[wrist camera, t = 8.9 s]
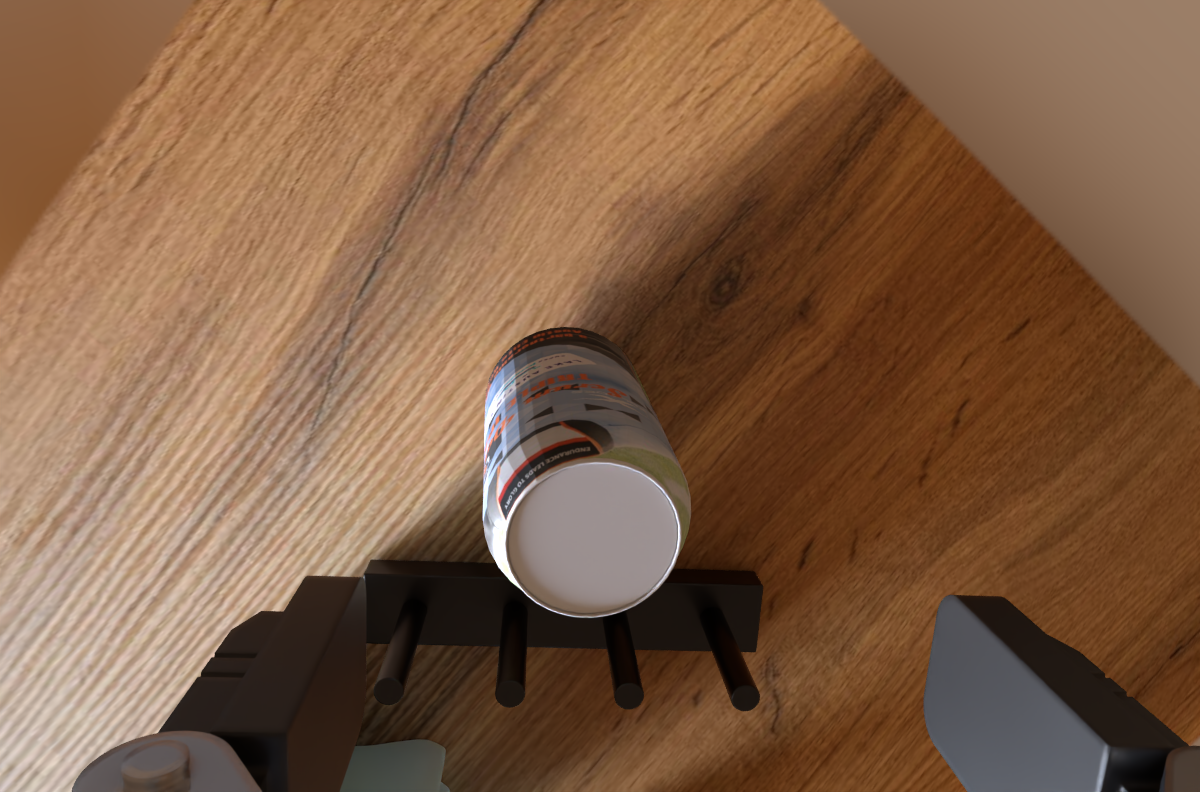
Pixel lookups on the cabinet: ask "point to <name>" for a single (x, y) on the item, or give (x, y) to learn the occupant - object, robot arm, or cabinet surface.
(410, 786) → the squiggly pen holder
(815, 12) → the cabinet surface
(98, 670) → the cabinet surface
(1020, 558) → the cabinet surface
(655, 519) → the beverage can
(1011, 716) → the robot arm
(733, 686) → the rack
